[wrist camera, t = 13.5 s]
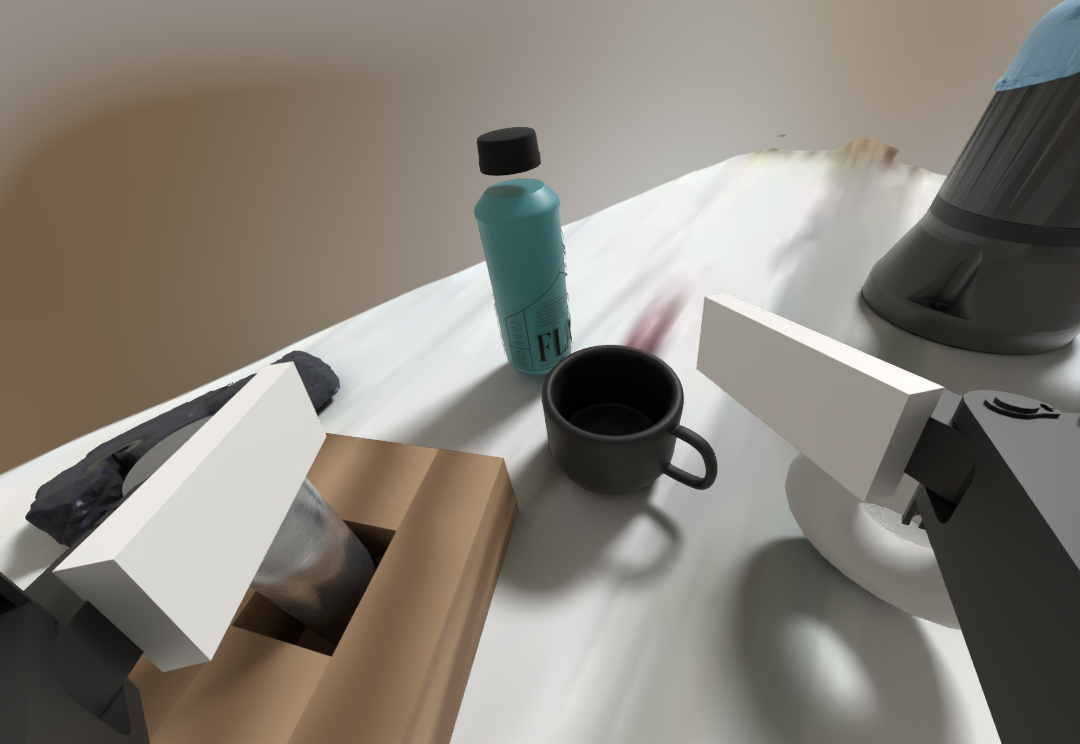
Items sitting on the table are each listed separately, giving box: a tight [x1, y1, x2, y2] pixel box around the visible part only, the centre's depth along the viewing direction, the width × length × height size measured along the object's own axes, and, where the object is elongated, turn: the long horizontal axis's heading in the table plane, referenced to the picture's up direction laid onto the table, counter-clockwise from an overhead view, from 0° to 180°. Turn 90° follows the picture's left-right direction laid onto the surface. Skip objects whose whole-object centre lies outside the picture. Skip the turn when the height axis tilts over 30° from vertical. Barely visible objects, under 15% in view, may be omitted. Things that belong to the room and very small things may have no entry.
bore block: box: [127, 433, 518, 744], centre depth 21 cm, size 14×16×6 cm
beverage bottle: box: [474, 127, 572, 375], centre depth 31 cm, size 6×7×20 cm
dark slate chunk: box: [25, 351, 340, 548], centre depth 34 cm, size 15×22×5 cm
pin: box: [122, 415, 379, 647], centre depth 17 cm, size 4×4×14 cm
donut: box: [785, 452, 961, 630], centre depth 18 cm, size 10×4×10 cm, turn 36°
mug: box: [542, 345, 717, 494], centre depth 26 cm, size 12×9×7 cm
